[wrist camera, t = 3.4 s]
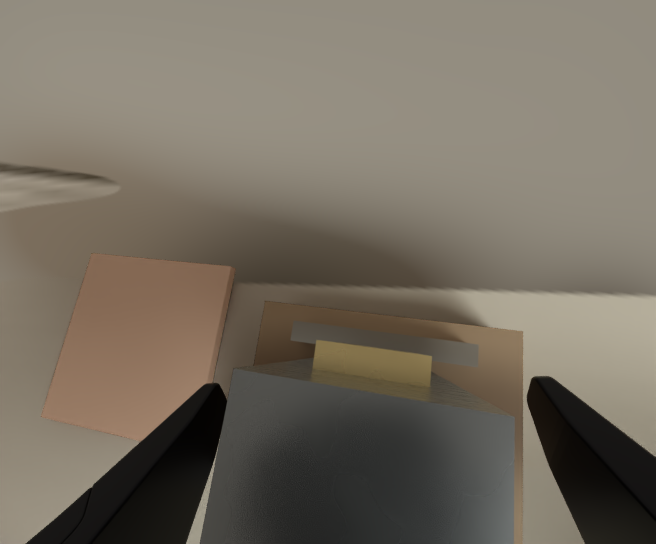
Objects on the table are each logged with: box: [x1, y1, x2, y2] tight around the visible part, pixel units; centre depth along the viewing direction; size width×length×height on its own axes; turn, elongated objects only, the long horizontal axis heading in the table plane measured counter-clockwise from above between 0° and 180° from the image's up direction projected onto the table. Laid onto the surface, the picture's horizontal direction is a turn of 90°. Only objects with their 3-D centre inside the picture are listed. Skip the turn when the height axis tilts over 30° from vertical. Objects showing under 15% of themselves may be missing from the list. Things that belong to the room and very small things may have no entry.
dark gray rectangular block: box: [200, 340, 515, 544], centre depth 8 cm, size 5×4×9 cm
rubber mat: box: [41, 253, 236, 441], centre depth 18 cm, size 10×10×1 cm
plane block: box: [254, 301, 523, 544], centre depth 13 cm, size 8×11×4 cm
